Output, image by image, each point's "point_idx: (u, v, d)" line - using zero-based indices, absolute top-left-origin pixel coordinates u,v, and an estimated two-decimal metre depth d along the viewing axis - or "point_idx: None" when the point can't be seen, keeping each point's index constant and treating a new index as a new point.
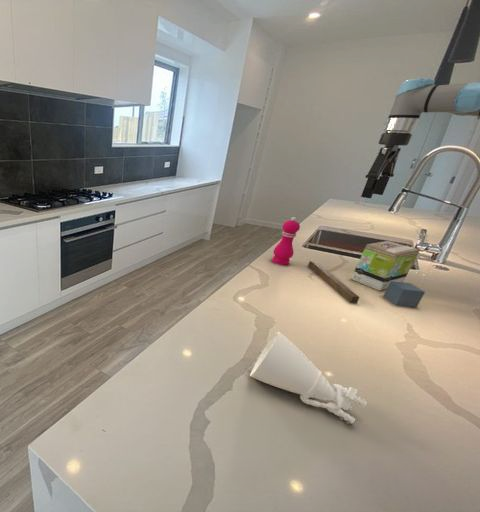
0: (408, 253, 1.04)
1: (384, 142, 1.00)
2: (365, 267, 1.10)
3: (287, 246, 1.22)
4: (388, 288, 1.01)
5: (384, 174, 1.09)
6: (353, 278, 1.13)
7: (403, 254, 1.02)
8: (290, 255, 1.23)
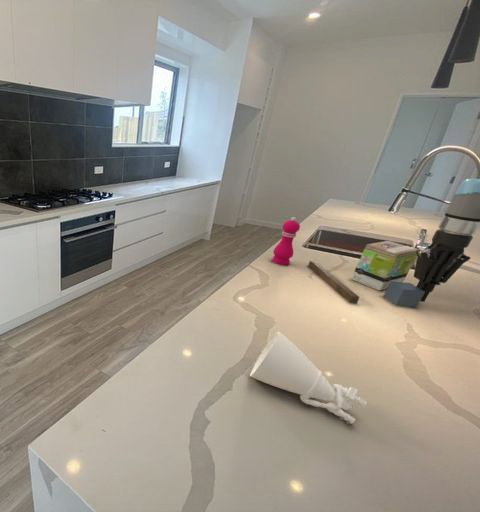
0: (408, 253, 1.04)
1: (432, 239, 0.93)
2: (365, 267, 1.10)
3: (287, 246, 1.22)
4: (388, 288, 1.01)
5: (431, 279, 0.96)
6: (353, 278, 1.13)
7: (403, 254, 1.02)
8: (290, 255, 1.23)
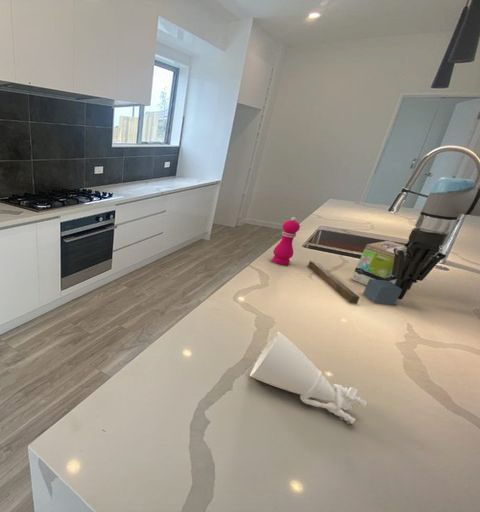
0: None
1: (409, 237, 0.94)
2: (365, 267, 1.10)
3: (287, 246, 1.22)
4: (367, 286, 1.02)
5: (408, 276, 0.97)
6: (353, 278, 1.13)
7: None
8: (290, 255, 1.23)
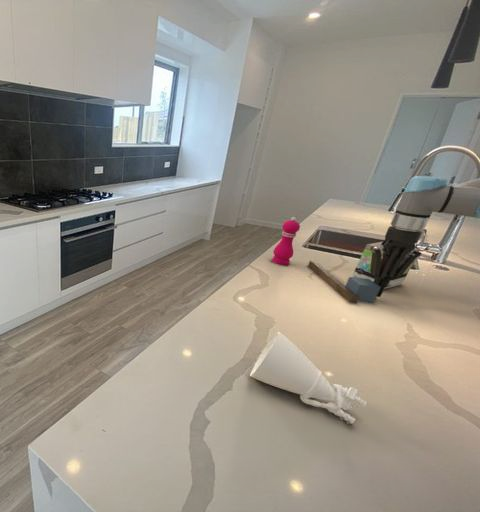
0: None
1: (385, 235, 0.95)
2: (365, 267, 1.10)
3: (287, 246, 1.22)
4: (347, 284, 1.03)
5: (386, 274, 0.98)
6: None
7: None
8: (290, 255, 1.23)
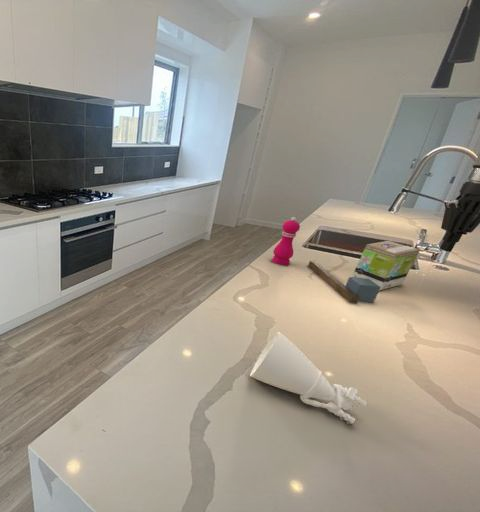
0: (408, 253, 1.04)
1: (460, 190, 0.99)
2: (365, 267, 1.10)
3: (287, 246, 1.22)
4: (347, 283, 1.03)
5: (458, 229, 1.02)
6: None
7: (403, 254, 1.02)
8: (290, 255, 1.23)
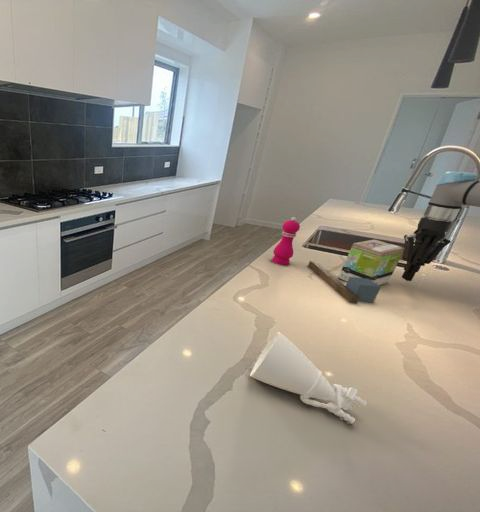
0: (393, 251, 1.04)
1: (418, 225, 1.05)
2: (352, 266, 1.10)
3: (287, 246, 1.22)
4: (347, 283, 1.03)
5: (417, 260, 1.09)
6: (340, 277, 1.14)
7: (389, 253, 1.03)
8: (290, 255, 1.23)
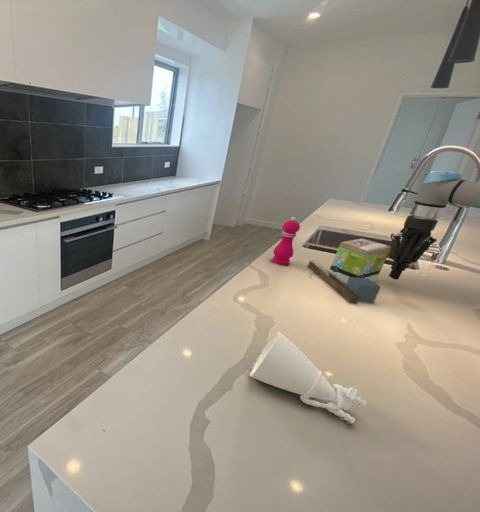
0: (380, 250, 1.05)
1: (404, 224, 1.06)
2: (339, 265, 1.11)
3: (287, 246, 1.22)
4: (347, 284, 1.03)
5: (404, 259, 1.09)
6: None
7: (375, 251, 1.03)
8: (290, 255, 1.23)
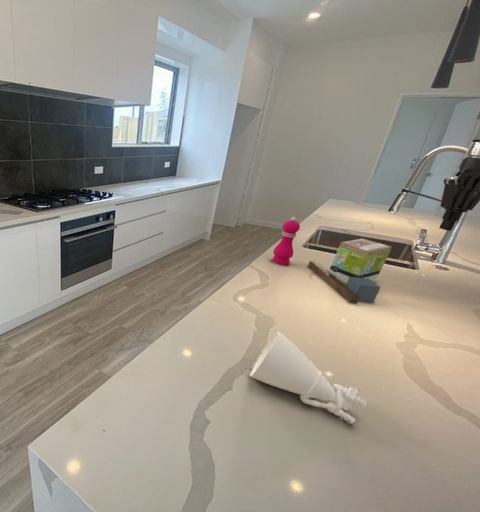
0: (380, 250, 1.05)
1: (459, 167, 0.96)
2: (339, 265, 1.11)
3: (287, 246, 1.22)
4: (347, 283, 1.03)
5: (458, 207, 1.00)
6: None
7: (375, 251, 1.03)
8: (290, 255, 1.23)
